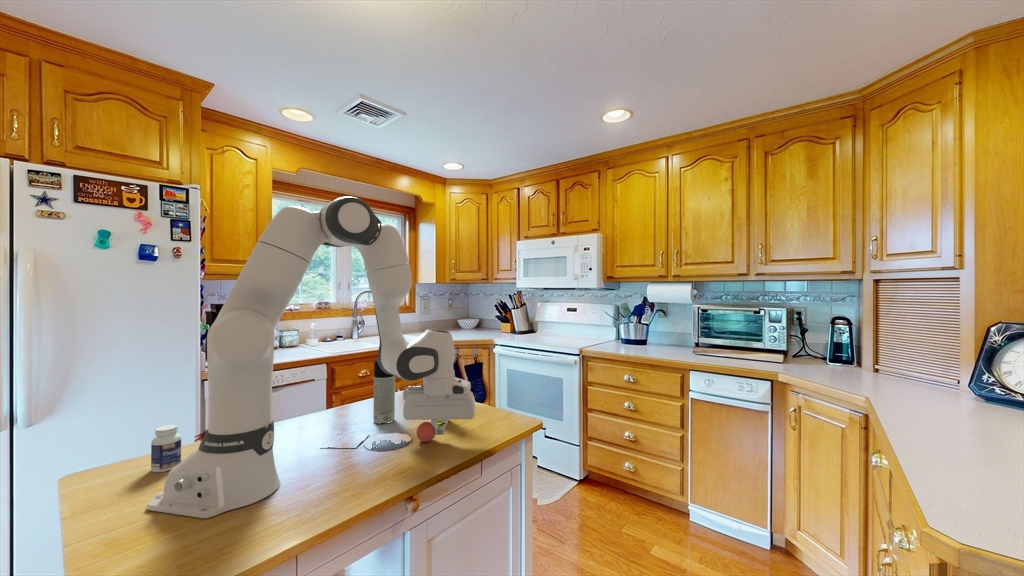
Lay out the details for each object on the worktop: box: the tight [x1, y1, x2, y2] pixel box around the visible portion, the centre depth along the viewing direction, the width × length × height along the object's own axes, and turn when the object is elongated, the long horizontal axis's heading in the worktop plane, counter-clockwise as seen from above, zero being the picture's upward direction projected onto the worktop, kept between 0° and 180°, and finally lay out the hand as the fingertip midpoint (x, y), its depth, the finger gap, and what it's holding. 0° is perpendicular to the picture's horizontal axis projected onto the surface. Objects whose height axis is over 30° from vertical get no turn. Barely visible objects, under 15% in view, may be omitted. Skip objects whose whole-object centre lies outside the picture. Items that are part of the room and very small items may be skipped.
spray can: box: [372, 359, 396, 424], centre depth 126 cm, size 7×7×20 cm
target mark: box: [370, 438, 413, 452], centre depth 109 cm, size 13×13×1 cm
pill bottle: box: [150, 424, 182, 473], centre depth 92 cm, size 5×5×10 cm
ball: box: [415, 421, 436, 443], centre depth 109 cm, size 6×6×6 cm
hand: (440, 434), depth 109 cm, fingers closed
